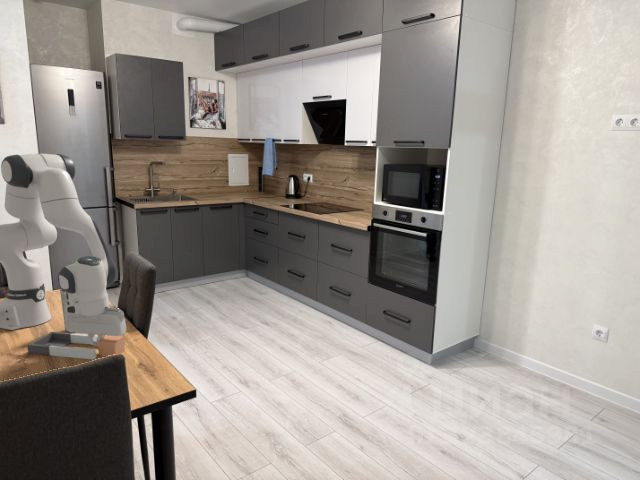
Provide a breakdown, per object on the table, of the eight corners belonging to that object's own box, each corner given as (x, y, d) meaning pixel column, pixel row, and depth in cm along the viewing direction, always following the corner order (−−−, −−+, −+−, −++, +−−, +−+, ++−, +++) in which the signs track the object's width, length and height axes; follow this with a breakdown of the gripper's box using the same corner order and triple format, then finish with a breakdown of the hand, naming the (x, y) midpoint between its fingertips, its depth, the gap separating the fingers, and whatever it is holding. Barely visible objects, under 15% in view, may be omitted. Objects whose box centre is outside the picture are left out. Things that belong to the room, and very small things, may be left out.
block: (99, 355, 147) (97, 341, 146) (108, 348, 152) (107, 335, 151) (115, 357, 146) (114, 342, 145) (124, 350, 151) (123, 336, 150)
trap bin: (28, 353, 148) (27, 344, 148) (52, 339, 159) (52, 331, 158) (49, 355, 147) (48, 346, 146) (73, 341, 158) (72, 333, 157)
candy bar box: (92, 321, 176) (88, 281, 172) (100, 324, 173) (96, 283, 170) (63, 331, 166) (59, 288, 163) (71, 334, 164) (66, 291, 160)
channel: (49, 355, 147) (48, 346, 146) (73, 341, 158) (72, 333, 157) (94, 359, 145) (93, 350, 144) (114, 345, 155) (114, 337, 155)
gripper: (128, 305, 148) (131, 343, 151) (73, 301, 151) (77, 339, 154) (117, 311, 142) (120, 352, 145) (59, 307, 145) (64, 347, 148)
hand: (97, 345), depth 150 cm, fingers closed
